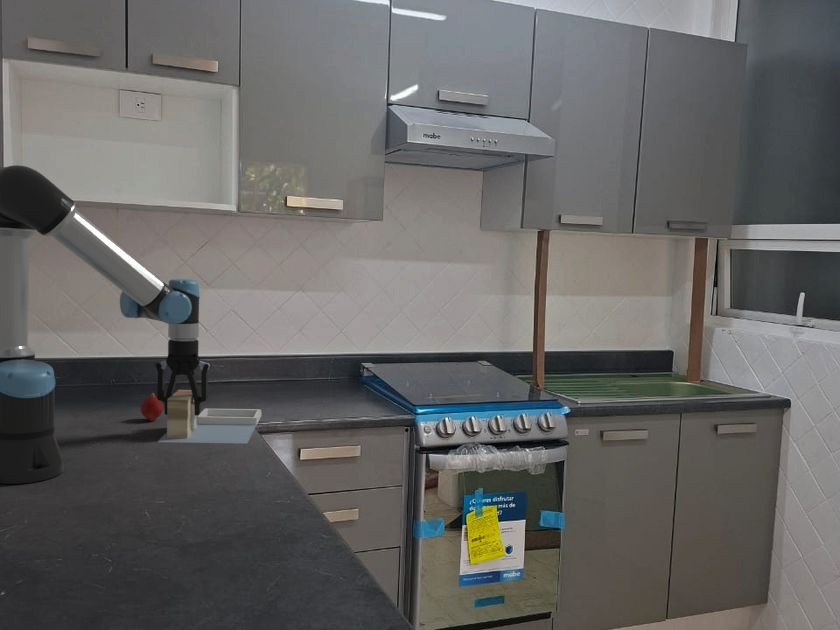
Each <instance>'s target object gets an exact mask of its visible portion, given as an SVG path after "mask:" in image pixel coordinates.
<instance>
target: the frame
mask: <svg viewBox="0 0 840 630" xmlns="http://www.w3.org/2000/svg"><path fill="white" fill-rule="evenodd" d="M200 412H201V413H200V415H199V416H198V417H197V424H216V425H256V426H257V425H258V423H259V421H260V419H261V418H262V416H261V414H262V409H255V408H254V409H252V408H251V409H250V408H249V409H247V408H206V407H205V408H203V410H202V411H200ZM215 416H229V417H215ZM260 417H261V418H260Z"/></svg>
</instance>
